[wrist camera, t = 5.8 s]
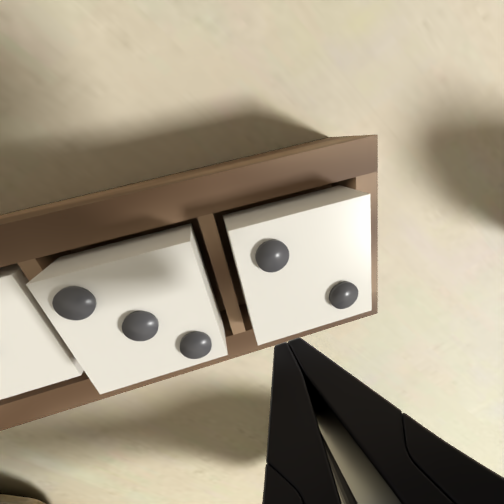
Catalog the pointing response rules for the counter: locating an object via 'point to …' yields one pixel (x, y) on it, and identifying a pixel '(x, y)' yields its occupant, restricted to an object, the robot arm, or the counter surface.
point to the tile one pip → (29, 340)
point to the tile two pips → (303, 260)
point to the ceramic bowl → (18, 500)
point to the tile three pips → (134, 307)
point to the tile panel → (206, 231)
